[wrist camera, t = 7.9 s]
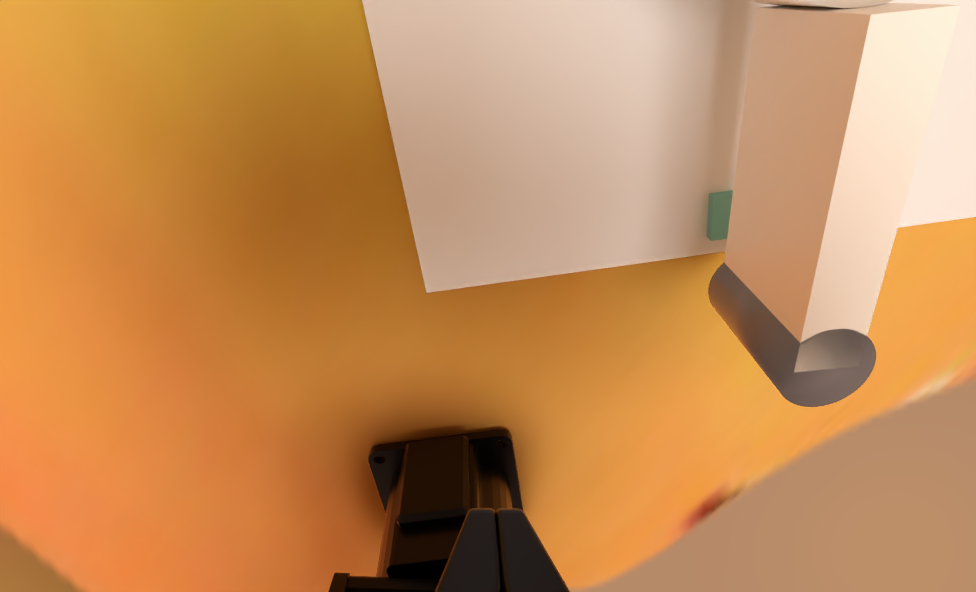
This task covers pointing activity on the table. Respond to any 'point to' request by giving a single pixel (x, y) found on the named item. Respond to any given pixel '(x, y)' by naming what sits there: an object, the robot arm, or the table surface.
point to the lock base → (600, 130)
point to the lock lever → (824, 182)
